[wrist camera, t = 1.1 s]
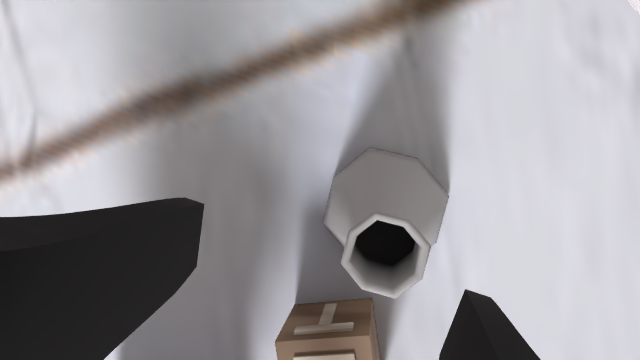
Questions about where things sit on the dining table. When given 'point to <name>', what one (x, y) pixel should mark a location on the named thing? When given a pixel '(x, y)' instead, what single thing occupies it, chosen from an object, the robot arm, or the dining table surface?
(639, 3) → the water bottle
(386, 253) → the flask
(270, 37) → the dining table surface
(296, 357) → the lettered block
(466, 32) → the dining table surface
